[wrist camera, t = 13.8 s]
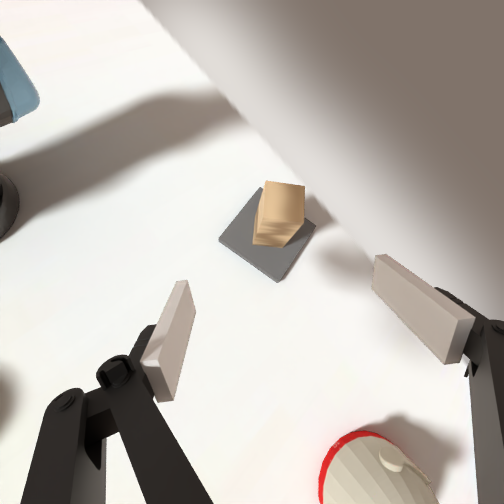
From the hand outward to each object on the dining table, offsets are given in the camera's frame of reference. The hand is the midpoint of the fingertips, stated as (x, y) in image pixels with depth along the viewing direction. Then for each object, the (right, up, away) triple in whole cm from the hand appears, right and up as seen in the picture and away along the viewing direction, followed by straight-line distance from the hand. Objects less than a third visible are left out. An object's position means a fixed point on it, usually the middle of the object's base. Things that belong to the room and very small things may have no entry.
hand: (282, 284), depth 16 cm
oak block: (+1, +6, +23) cm, 23 cm away
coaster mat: (0, +5, +24) cm, 25 cm away
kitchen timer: (+14, -31, +16) cm, 37 cm away
